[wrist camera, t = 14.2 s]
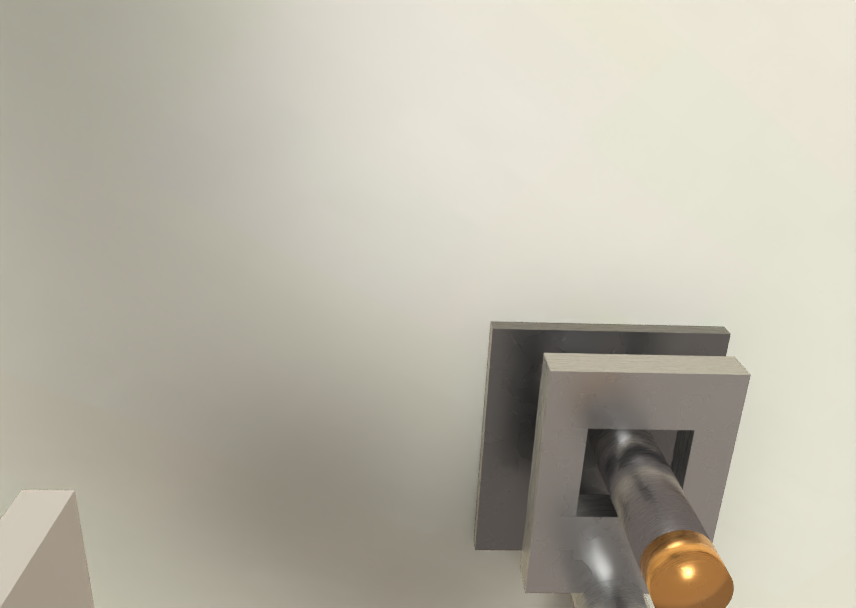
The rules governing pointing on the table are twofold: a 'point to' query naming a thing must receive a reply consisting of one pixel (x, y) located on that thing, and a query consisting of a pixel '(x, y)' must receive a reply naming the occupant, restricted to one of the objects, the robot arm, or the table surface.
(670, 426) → the square hole plate
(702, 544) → the copper tipped metal rod
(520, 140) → the table surface
